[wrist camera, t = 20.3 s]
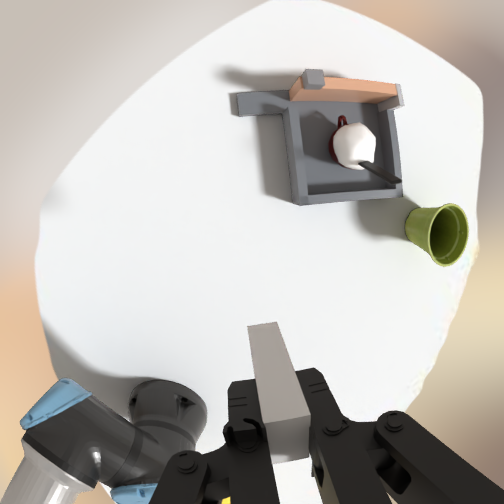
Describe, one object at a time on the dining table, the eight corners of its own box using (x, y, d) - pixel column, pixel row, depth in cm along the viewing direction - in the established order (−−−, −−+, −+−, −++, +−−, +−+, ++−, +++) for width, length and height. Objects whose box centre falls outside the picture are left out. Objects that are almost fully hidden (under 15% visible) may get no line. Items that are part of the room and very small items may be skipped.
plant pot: (401, 260, 43) (432, 276, 34) (391, 207, 40) (423, 214, 32) (439, 241, 43) (470, 253, 34) (430, 191, 40) (464, 196, 32)
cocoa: (325, 118, 36) (358, 91, 24) (364, 127, 36) (407, 107, 24) (320, 182, 38) (354, 176, 26) (360, 188, 38) (404, 187, 26)
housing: (250, 208, 39) (255, 213, 32) (236, 95, 35) (238, 78, 28) (388, 195, 40) (414, 198, 33) (376, 95, 36) (400, 84, 29)
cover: (290, 102, 34) (306, 84, 27) (288, 89, 34) (303, 69, 26) (376, 105, 35) (405, 92, 27) (374, 93, 35) (402, 79, 27)
